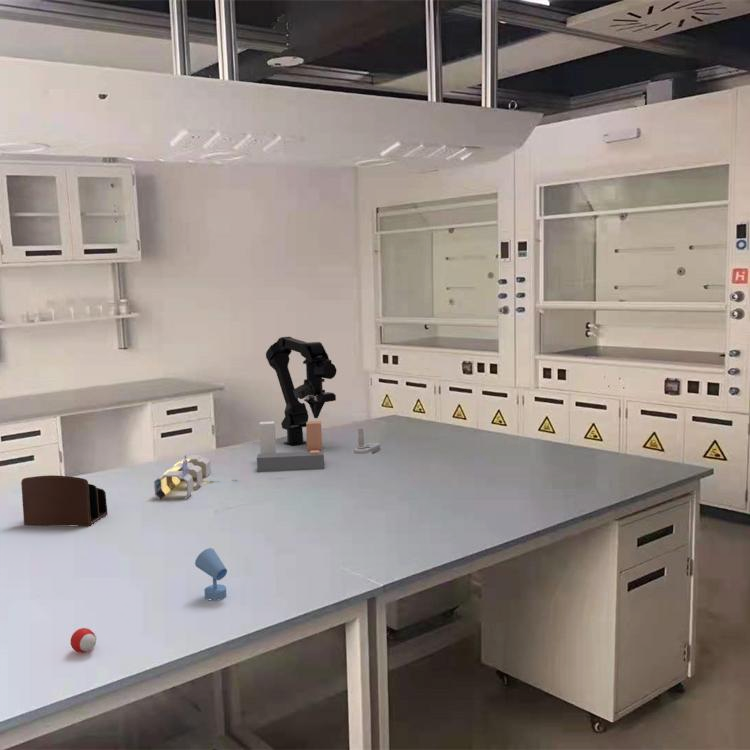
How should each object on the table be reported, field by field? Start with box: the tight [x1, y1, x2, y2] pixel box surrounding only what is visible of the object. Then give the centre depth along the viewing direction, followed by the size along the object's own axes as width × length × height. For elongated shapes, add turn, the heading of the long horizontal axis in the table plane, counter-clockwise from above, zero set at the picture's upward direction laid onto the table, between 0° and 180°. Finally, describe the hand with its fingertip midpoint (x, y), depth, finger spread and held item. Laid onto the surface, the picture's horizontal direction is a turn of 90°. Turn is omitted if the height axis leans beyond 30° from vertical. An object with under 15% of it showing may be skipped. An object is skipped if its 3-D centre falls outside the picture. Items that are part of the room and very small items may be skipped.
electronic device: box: [353, 428, 381, 455], centre depth 290 cm, size 5×10×15 cm
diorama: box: [153, 454, 212, 501], centre depth 250 cm, size 25×10×13 cm, turn 176°
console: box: [256, 450, 325, 473], centre depth 271 cm, size 16×22×7 cm
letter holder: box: [20, 475, 108, 527], centre depth 221 cm, size 10×20×14 cm, turn 81°
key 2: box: [305, 420, 323, 452], centre depth 271 cm, size 4×5×14 cm
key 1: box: [258, 420, 277, 454], centre depth 273 cm, size 4×5×14 cm
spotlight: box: [194, 547, 228, 601], centre depth 167 cm, size 5×10×7 cm
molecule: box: [70, 627, 97, 654], centre depth 145 cm, size 5×5×4 cm
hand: (316, 418), depth 295 cm, fingers closed
